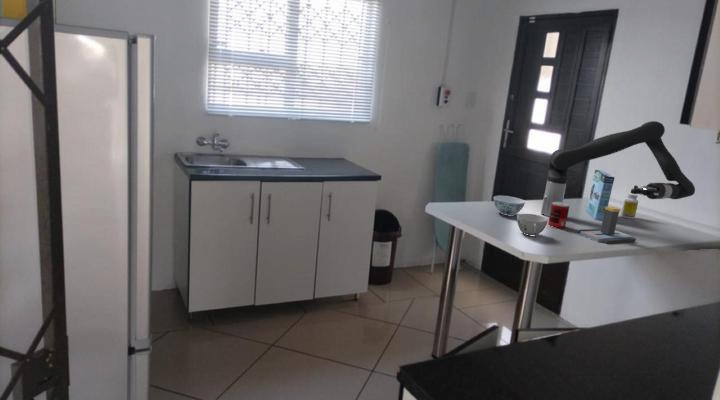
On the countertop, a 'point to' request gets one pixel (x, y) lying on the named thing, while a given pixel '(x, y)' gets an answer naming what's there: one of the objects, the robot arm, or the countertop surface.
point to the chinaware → (508, 204)
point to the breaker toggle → (610, 220)
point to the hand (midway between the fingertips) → (632, 191)
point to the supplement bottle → (630, 206)
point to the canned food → (558, 214)
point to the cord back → (590, 230)
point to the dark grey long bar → (619, 240)
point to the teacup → (531, 223)
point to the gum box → (599, 194)
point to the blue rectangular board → (604, 235)
